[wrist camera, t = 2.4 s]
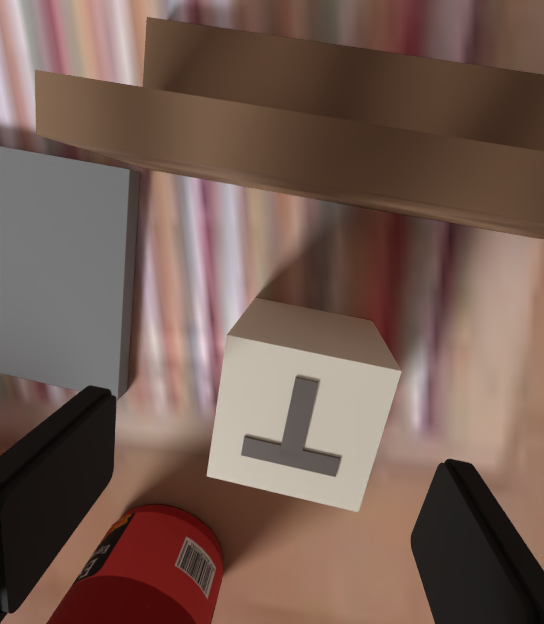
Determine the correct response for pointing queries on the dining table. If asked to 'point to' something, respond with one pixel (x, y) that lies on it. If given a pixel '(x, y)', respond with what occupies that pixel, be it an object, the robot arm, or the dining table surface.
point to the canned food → (148, 573)
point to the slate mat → (66, 270)
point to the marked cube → (302, 403)
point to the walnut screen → (318, 124)
